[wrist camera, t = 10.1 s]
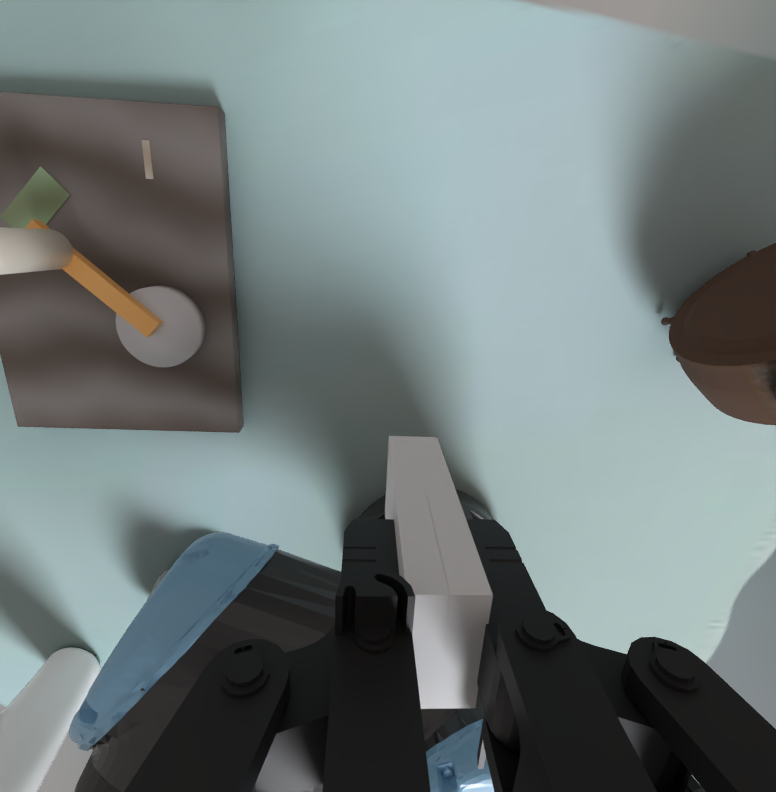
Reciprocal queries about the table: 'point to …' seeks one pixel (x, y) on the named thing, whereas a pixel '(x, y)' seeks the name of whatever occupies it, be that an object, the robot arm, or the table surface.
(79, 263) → the dial
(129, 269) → the dial plate
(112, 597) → the table surface
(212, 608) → the robot arm
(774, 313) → the alarm clock
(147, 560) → the table surface
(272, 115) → the table surface
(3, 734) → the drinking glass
